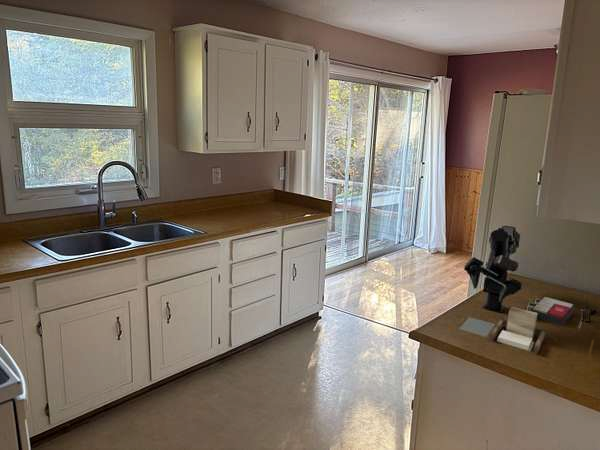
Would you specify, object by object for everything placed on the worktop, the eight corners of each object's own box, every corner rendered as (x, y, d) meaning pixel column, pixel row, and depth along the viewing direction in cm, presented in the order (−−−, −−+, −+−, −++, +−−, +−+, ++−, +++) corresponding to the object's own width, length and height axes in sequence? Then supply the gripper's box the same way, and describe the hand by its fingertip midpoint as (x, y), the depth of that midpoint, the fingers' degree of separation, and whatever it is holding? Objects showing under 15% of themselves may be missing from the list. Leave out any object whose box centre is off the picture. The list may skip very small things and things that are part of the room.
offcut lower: (501, 337, 155) (501, 333, 155) (533, 346, 149) (534, 342, 149) (496, 344, 149) (496, 341, 149) (529, 354, 144) (530, 350, 144)
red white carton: (531, 307, 169) (543, 294, 180) (529, 318, 171) (542, 304, 181) (564, 317, 162) (575, 303, 173) (562, 328, 163) (573, 313, 174)
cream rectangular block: (508, 330, 158) (511, 306, 156) (533, 337, 154) (537, 313, 151) (505, 335, 155) (509, 310, 153) (531, 342, 150) (535, 317, 148)
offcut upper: (502, 333, 154) (502, 330, 154) (531, 342, 149) (532, 338, 149) (497, 341, 149) (497, 337, 149) (528, 350, 144) (528, 346, 144)
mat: (469, 318, 166) (469, 317, 166) (495, 325, 161) (495, 324, 161) (458, 330, 157) (458, 328, 157) (486, 338, 152) (486, 336, 152)
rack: (500, 326, 161) (501, 318, 161) (544, 338, 153) (545, 329, 153) (489, 342, 149) (490, 333, 149) (536, 356, 142) (537, 347, 141)
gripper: (485, 236, 157) (474, 270, 148) (535, 262, 155) (528, 298, 146) (468, 252, 166) (458, 285, 157) (516, 277, 164) (507, 312, 155)
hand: (487, 294), depth 154 cm, fingers open, 9 cm apart
